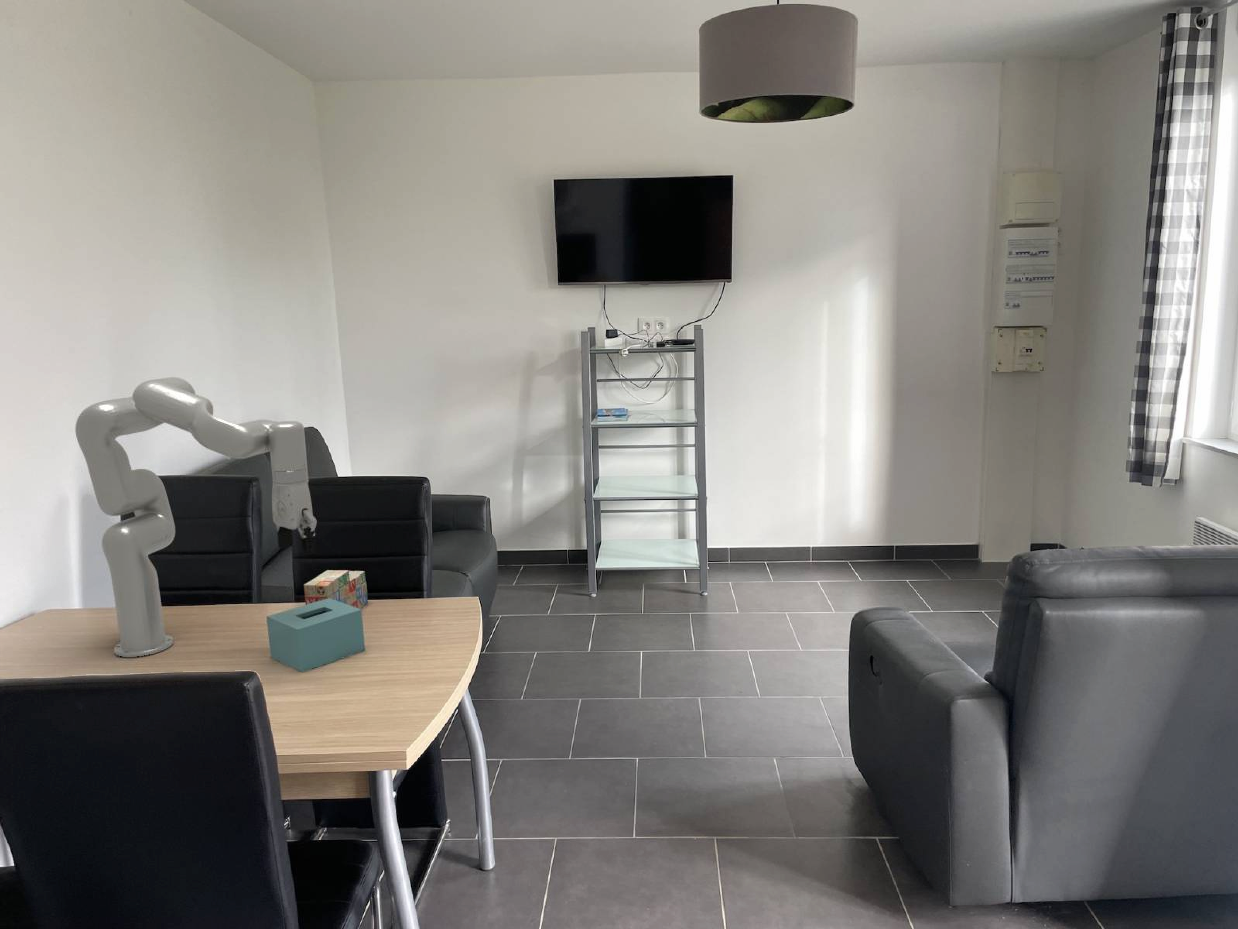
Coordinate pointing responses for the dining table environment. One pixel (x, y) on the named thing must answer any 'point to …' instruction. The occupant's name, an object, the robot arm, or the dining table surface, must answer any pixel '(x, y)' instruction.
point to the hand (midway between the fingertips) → (296, 550)
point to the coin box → (315, 634)
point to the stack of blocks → (338, 588)
